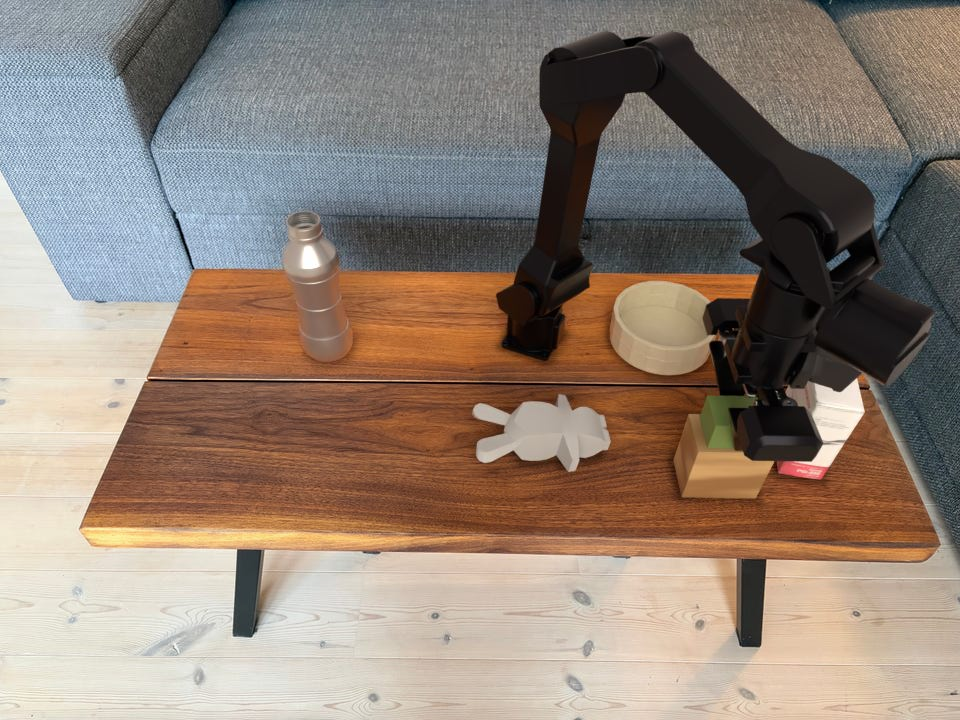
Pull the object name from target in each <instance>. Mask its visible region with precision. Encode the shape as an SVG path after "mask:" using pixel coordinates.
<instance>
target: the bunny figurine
mask: <svg viewBox="0 0 960 720" xmlns="http://www.w3.org/2000/svg"><path fill="white" fill-rule="evenodd" d="M471 414H472V416H473V418H474V419H477V420H481V421H484V422H489V423H492V424H496V425H501V426H504V427H503V433H501V434H496V435H493V436H488V437H485V438H481V439H480V440H478V441H477V443H476V450H475V457H476V458H477V460H478V461H479V462H481V463H483V464H486V463H487V464H488V463H492V462H493V461H496V460H498V459H499V458H502V457H504V456H505V455H507V454H509V453H512V452H514V453H515V454H516V455H517V456H518V457H519V458H520V459H521V460H522V461H529V462H534V461H535V462H537V461H538V462H539V461H544V460H545V461H547V460H548V459H551V458H553V457H557V459H558V460H559V461H560V462H561V464H562V466H563V467H564V468H565V470H566V471H567V472H568V473H570V472H576V470H577V467H578V466H579V463H580V458H581V459H582V458H584V459H588V458H590V457H593V456H595V455H597V454H598V453H601V452H602V451H608V450H609V447H610V444H611V443H612V440H611V437H610V433H609V430H608V429H607V426H608V425H607V422H606V417H605V415H604V414H598V412H597V411H595V410H594V409H593V408H590V407H588V406H579V407H577V408H574V409H572V407H571V405H570V402H569V400H568V398H567V396H566V394H561V393H558V394H557V398H556V402H555V404H554V405H553V404H552V403H550V402H544V401H535V400H534V401H533V400H531V401H523V402H522V403H521V404H520V405H518V407H516V409H515V410H514V411H513V412H512V413H511V414H510V413H508V412H505V411H503V410H501V409H498V408H496V407H494V406H491V405H489V404H486V403H482V402H479V403H477V404H475V405H474V407H473V409H472V410H471Z"/></svg>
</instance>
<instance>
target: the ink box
mask: <svg viewBox="0 0 960 720" xmlns="http://www.w3.org/2000/svg"><path fill="white" fill-rule="evenodd" d="M785 392H786V395H787V396H788V397H790V398H793V399H794V400H795V401H796V402H797V404H798V406H804V407H805V408H806V409H807V410H808V411H809V412H810V413H811V414H812V416H813V419H814V421H815V424H816V426H817V429H818V431H819V434H820V436H821V438H822V441H823V443H824V444H823V445H822V447H821V449H820V451H819V452H818V454H817V456H816V457H815V458H814V460H813V461H812V462H792V461H776V468H777V474H779V475H786V476H791V477H799V478H802V479H803V478H804V479H811V480H819V481H820V480H822V479H823V477H824V476H825V474H826V473H827V471H828V470H829V468H830V466H831V465H832V464H833V462H834V460H835V459H836V457H837V456H838V454H839V453H840V451H841V449H842V448H843V446H844V444H845V443H846V442H847V440H848V439H849V437H850V436H851V434H852V433H853V431H854V430H855V428H856V426H857V425H858V423H859V422H860V421H861V419H862V418H863V416H864V414H865V412H866V411H865V407H864V402H863V398H862V393H861V390H860V385H859V381H858V378H856V379H855V380H854V381H853V382H852V383H851V384H850V385H849V386H848V387H846V388H845V389H844V390H843V391H842V392H836V391H833V389H832V388H828V387H825V386H822V385H818V384H815V383H812V382H810V381H808V382H807V384H806V386H805V388H804V389H791V388H790V385H787V388H786V389H785Z"/></svg>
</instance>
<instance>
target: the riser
mask: <svg viewBox="0 0 960 720" xmlns="http://www.w3.org/2000/svg"><path fill="white" fill-rule="evenodd" d="M700 415H701V413H688V415H687V417H686V421H685V424H684V427H683V430H682V434H681V435H680V439H679V442H678V445H677V448H676V451H675V453H674V457H673V465H674V470H675V473H676V474H675V475H676V478H677V483H678V488H679V492H680V497H681V498H694V499H695V498H696V499H697V498H699V499H700V498H701V499H702V498H703V499H704V498H707V499H757V497H758V495H759V493H760V491H761V489H762V487H763V485H764V483H765V481H766V479H767V477H768V475H769V473H770V471H771V469H772V467H773V465H774V463H775V461H752V460H750V459H749V458H747V457H746V456H744V453H743V451H735V450H734V448H707V444H706V441H705V437H704V433H703V429H702V425H701V422H700V418H699V417H700Z"/></svg>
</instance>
